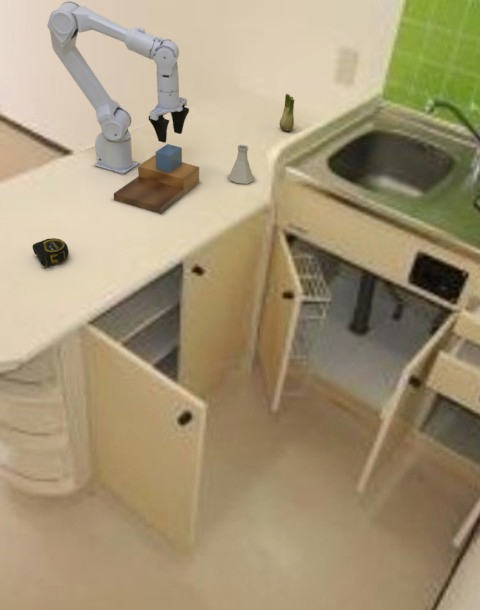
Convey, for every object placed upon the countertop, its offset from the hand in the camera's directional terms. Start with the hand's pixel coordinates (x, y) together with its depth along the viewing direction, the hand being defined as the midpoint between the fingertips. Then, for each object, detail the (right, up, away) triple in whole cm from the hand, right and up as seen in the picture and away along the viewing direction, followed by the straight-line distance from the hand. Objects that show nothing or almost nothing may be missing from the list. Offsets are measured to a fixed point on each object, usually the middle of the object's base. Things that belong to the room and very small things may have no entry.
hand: (170, 137), depth 181 cm
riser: (-2, -16, -4) cm, 16 cm away
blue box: (0, -9, -3) cm, 9 cm away
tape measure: (-19, -37, -36) cm, 55 cm away
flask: (+19, -10, +8) cm, 23 cm away
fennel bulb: (-2, +20, +37) cm, 42 cm away
